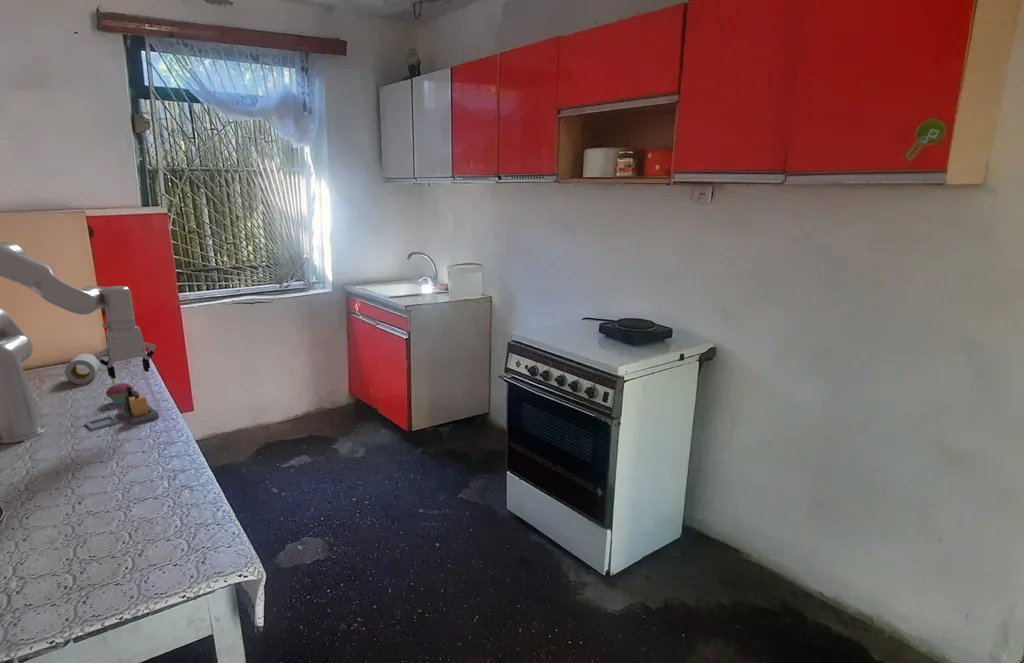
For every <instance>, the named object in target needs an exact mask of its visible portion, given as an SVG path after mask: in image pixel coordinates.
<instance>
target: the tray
mask: <svg viewBox="0 0 1024 663" xmlns="http://www.w3.org/2000/svg"><path fill="white" fill-rule="evenodd" d="M117 424H121V421H120V419H118V418H117V417H116V416H115V415H114V414H110V415H107V416H102V417H99V418H96V419H91V420H89V421H85V422H84V425H86V427H87V428H88V429H89V430H90V431H96V430H99V429H102V428H106V427H110V426H113V425H117Z"/></svg>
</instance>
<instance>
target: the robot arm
mask: <svg viewBox="0 0 1024 663" xmlns="http://www.w3.org/2000/svg"><path fill="white" fill-rule="evenodd" d="M0 277H1V278H3V279H6V280H10V281H12V282H13V283H16V284H18V285H20V286H23V287H25V288H28V289H29V290H32V291H33V292H34V293H35V294H37V295H38V296H39V297H41V299H43V300H45V301H46V302H48V303H50V304H52V305H53V306H56V307H58V308H61V309H63V310H65V311H67V312H70V313H74V314H75V315H76V314H77V315H83V316H84V315H91V314H92V313H94V312H96V311H97V310H99V309H103V308H104V310H105V315H106V322H105V323H102V328H104V329H105V328H107V329H106V332H105V346H106V348H103V350H101V351H99V352H98V353H97V354H94V356H95V358H96V359H97V360H98V361H99V362H100V365H101V364H102V365H103V366H105V367H106V369H107V376H109V377H110V376H111V378H113V379H116V378H117V377H116V371H115V367H114V364H115V362H120V361H125V360H131V359H136V358H141V357H142V359H141V362H142V368H143V371H145V372H150V370H149V369H151V367H150V366H151V365H150V360H151V357H152V356H154V352H155V351H156V348H157V345H156V344H152V343H149V342H145V341H144V336H143V334H142V331H141V328H140V326H138V325H136V318H135V312H134V311H135V310H134V305H133V299H132V293H131V289H130V288H129V287H128V286H125V285H112V286H97V285H90V286H89V285H88V286H85V287H83V288H80V289H79V288H77V287H74V286H72V285H69V284H68V283H65V282H63V281H62V280H60V279H59V278H57V277H56V276H55V275H54V273H53V271H52V269H51V267H50V266H49V265H47V264H46V263H43V262H41V261H38V260H36V259H34V258H31V257H29V256H26V254H25V251H24V250H23V248H21V247H20V246H19V245H17V244H16V243H15V242H14V243H13V242H11V241H10V242H8V241H0ZM146 347H147V348H149V349H148V352H147V351H146ZM33 348H34V347H33V343H32V341H31V339H30V338H29V337H28V335H27V334H26V333H25V332H24V330H22V328H21V326H19V325H18V323H17V322H16V321H15V320H14V319H13V317H12V316H11V315H10V314H9V313H8V312H7V311H6V310H4V309H3V308H1V307H0V444H14V443H20V442H24V441H25V440H26V441H27V440H29V439H33V438H35V437H38V436H40V435H42V434H44V433H45V432H46V431H47V430H48V427H47V425H45V424H41V423H40V421H39V418H38V413H37V410H36V405H35V403H34V401H35V400H34V398H33V394H32V391H31V386H30V382H29V379H28V377H27V374H26V372H25V371H24V369H23V367H22V365H21V364H22V363H23V362H25V361H26V360H28V359H29V358H30V357H31V355H32V354H33V351H34V349H33ZM105 355H107V357H108V358H107V360H104V358H103V356H105ZM111 378H110V379H111Z"/></svg>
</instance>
